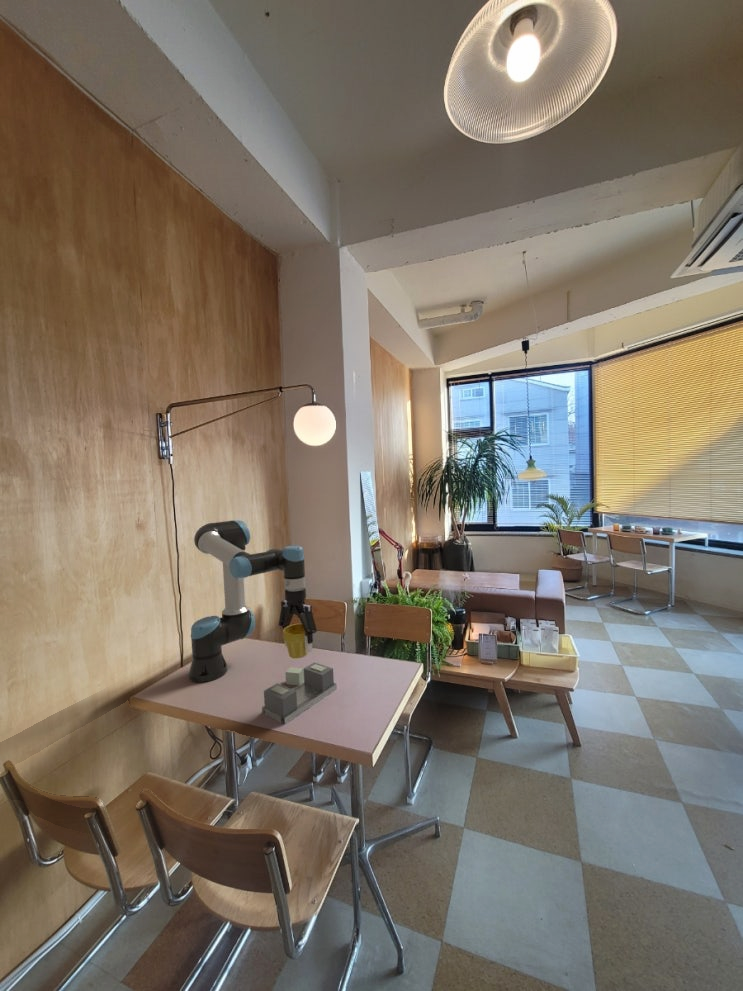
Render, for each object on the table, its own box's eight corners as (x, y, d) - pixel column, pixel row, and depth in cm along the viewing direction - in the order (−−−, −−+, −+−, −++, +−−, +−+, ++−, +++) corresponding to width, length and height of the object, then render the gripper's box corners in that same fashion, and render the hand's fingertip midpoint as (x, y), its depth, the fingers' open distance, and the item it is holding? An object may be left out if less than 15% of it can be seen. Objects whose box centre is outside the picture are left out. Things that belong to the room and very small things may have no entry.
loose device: (286, 684, 157) (285, 671, 156) (290, 679, 160) (290, 667, 160) (299, 685, 155) (298, 673, 155) (304, 680, 159) (303, 668, 159)
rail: (262, 712, 137) (261, 707, 137) (314, 680, 158) (314, 675, 158) (285, 724, 130) (284, 718, 130) (336, 688, 151) (336, 683, 151)
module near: (264, 707, 137) (263, 689, 137) (278, 699, 142) (277, 682, 142) (283, 716, 131) (282, 697, 131) (297, 707, 136) (296, 689, 136)
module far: (304, 683, 152) (303, 667, 152) (315, 677, 157) (314, 661, 157) (323, 690, 146) (322, 674, 146) (333, 683, 151) (332, 667, 151)
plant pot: (306, 661, 137) (305, 634, 137) (279, 660, 139) (277, 633, 139) (316, 649, 148) (315, 623, 147) (291, 648, 150) (289, 622, 149)
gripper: (266, 587, 146) (270, 645, 147) (309, 595, 133) (313, 659, 134) (282, 582, 152) (285, 638, 153) (325, 590, 139) (328, 651, 140)
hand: (298, 648), depth 143 cm, fingers closed on plant pot, 10 cm apart
